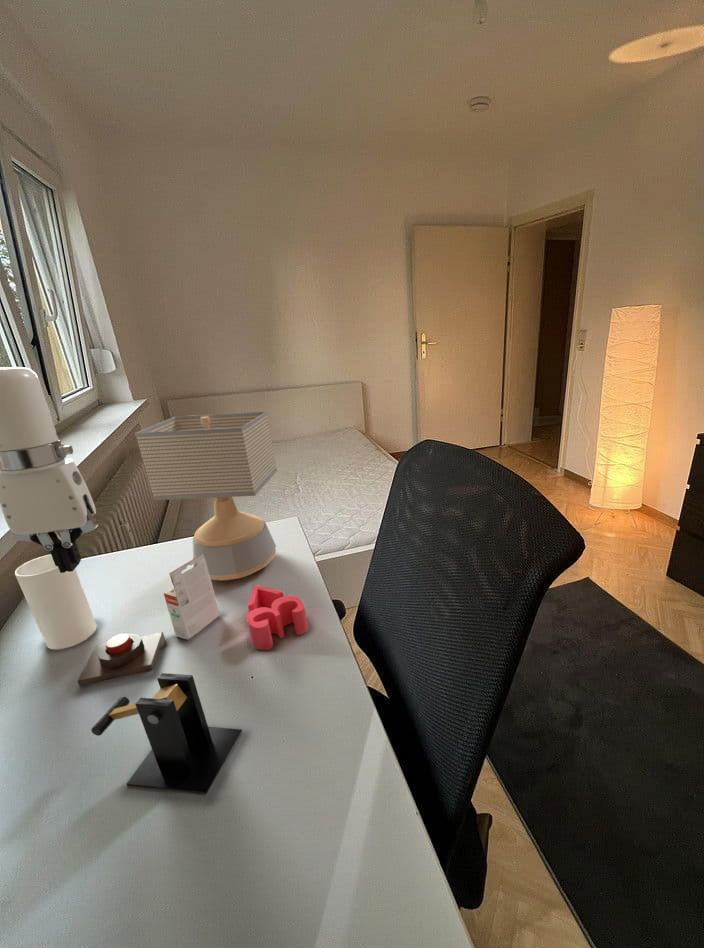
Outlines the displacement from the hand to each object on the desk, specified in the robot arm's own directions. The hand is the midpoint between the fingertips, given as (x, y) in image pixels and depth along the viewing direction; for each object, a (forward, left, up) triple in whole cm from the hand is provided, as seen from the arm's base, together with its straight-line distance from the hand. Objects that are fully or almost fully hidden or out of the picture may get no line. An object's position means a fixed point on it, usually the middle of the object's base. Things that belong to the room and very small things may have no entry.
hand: (70, 567), depth 70 cm
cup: (-10, +13, -20) cm, 26 cm away
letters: (+28, +3, -20) cm, 35 cm away
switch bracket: (+17, -24, -20) cm, 36 cm away
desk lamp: (+20, +29, -20) cm, 41 cm away
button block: (+3, 0, -20) cm, 20 cm away
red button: (+3, 0, -17) cm, 17 cm away
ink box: (+14, +7, -20) cm, 26 cm away
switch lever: (+13, -23, -12) cm, 29 cm away
